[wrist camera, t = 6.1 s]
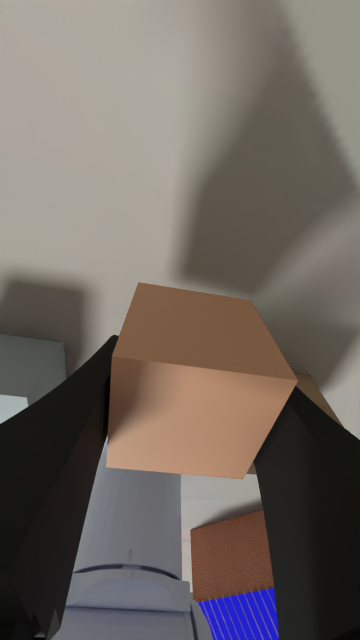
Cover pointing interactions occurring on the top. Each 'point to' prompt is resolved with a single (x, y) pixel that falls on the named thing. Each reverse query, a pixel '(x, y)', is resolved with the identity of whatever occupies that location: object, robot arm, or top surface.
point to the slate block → (28, 371)
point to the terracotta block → (193, 384)
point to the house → (235, 578)
